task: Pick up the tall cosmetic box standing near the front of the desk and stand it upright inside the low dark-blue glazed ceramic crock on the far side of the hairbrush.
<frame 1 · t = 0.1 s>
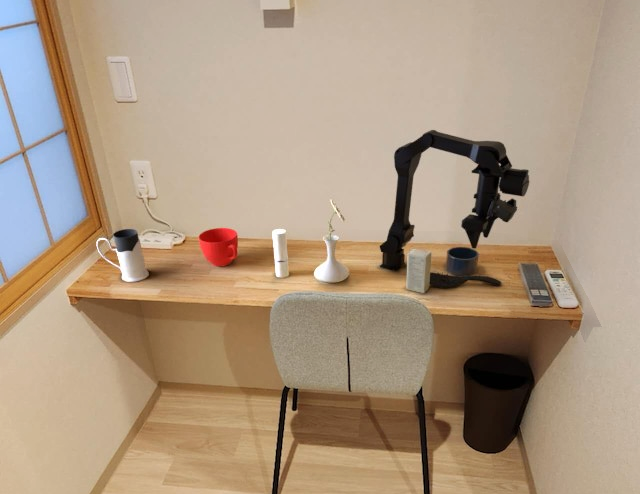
hand: (479, 242, 161), 15 cm above the table, tool pointing down, fingers open, 9 cm apart
tube: (282, 274, 180), on the table
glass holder: (127, 276, 183), on the table
ceramic cup: (224, 264, 188), on the table
hairbrush: (459, 283, 172), on the table
flower in vase: (332, 277, 178), on the table
cosmetic box: (417, 289, 170), on the table
crock: (460, 268, 180), on the table
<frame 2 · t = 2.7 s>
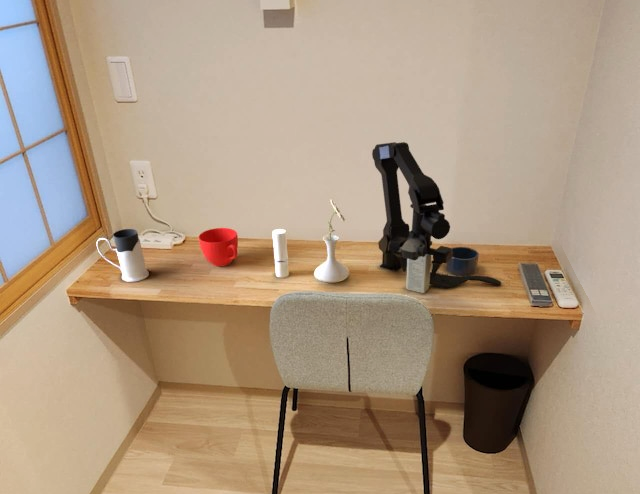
hand: (418, 275, 167), 5 cm above the table, tool pointing down
cosmetic box: (417, 289, 170), on the table, touching gripper
everything else where it was.
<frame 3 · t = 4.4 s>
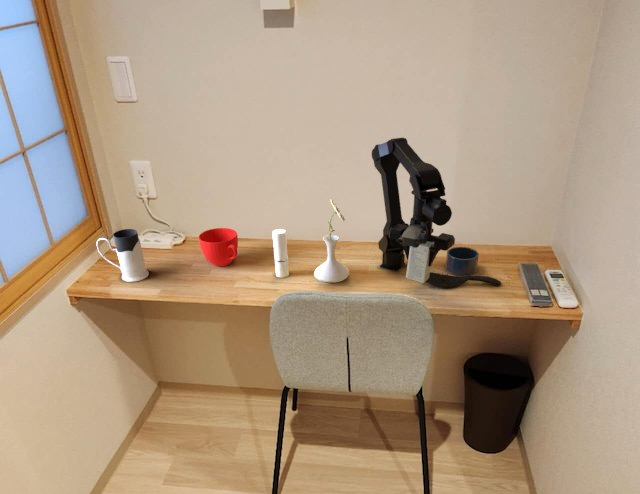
hand: (419, 263, 165), 9 cm above the table, tool pointing down, fingers closed on cosmetic box, 6 cm apart
cosmetic box: (416, 278, 168), point 3 cm above the table, touching gripper
everything else where it was.
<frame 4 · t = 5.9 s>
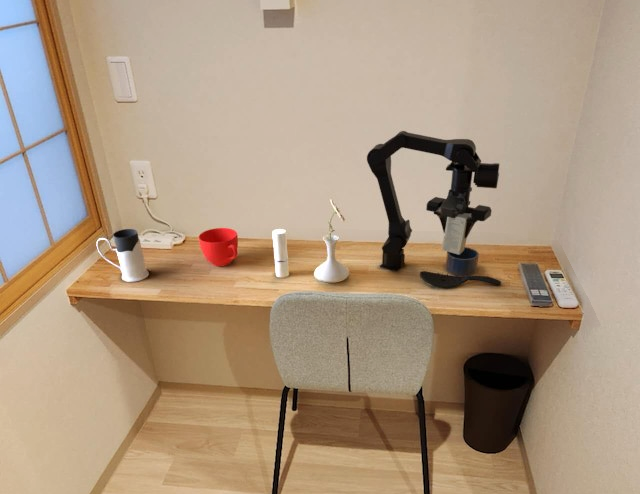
hand: (455, 235, 170), 13 cm above the table, tool pointing down, fingers closed on cosmetic box, 6 cm apart
cosmetic box: (452, 250, 173), point 8 cm above the table, touching gripper
everything else where it was.
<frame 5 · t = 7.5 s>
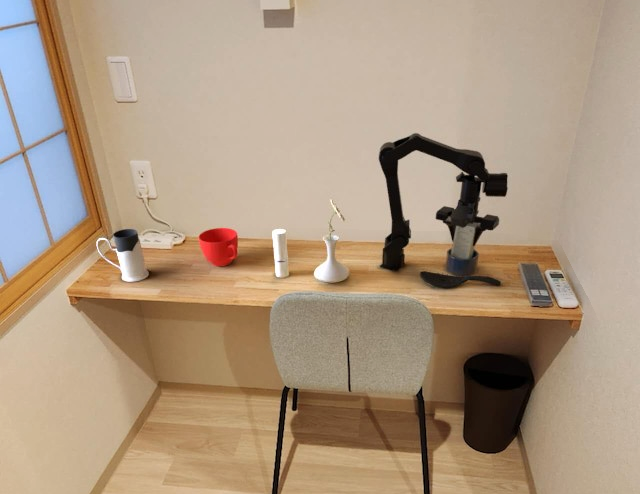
hand: (463, 243, 175), 9 cm above the table, tool pointing down, fingers closed on cosmetic box, 6 cm apart
cosmetic box: (460, 258, 178), point 4 cm above the table, touching gripper
everything else where it was.
when the fingers open (6 cm above the table, at t = 8.9 s): cosmetic box stays where it is, resting on crock.
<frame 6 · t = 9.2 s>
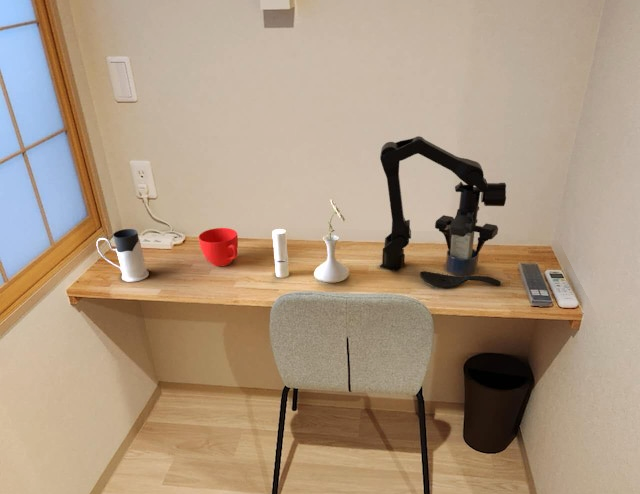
hand: (462, 252, 177), 6 cm above the table, tool pointing down, fingers open, 9 cm apart
cosmetic box: (459, 267, 180), resting on crock
everything else where it was.
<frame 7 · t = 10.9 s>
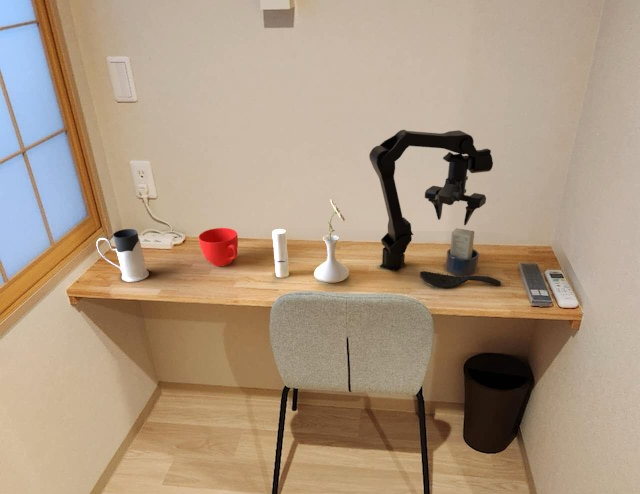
hand: (452, 222, 179), 13 cm above the table, tool pointing down, fingers open, 9 cm apart
nothing on the table moved.
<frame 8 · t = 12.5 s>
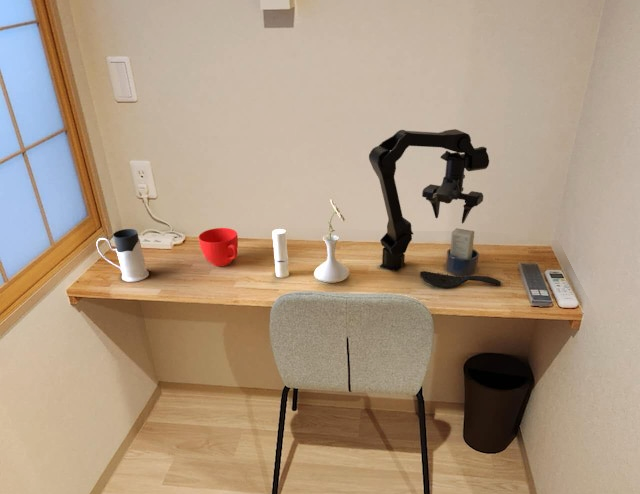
hand: (449, 220, 181), 13 cm above the table, tool pointing down, fingers open, 9 cm apart
nothing on the table moved.
at the end: cosmetic box inside the target area in the crock (0.5 cm from its centre), point 0.4 cm above the crock's base; the gripper is holding nothing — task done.
